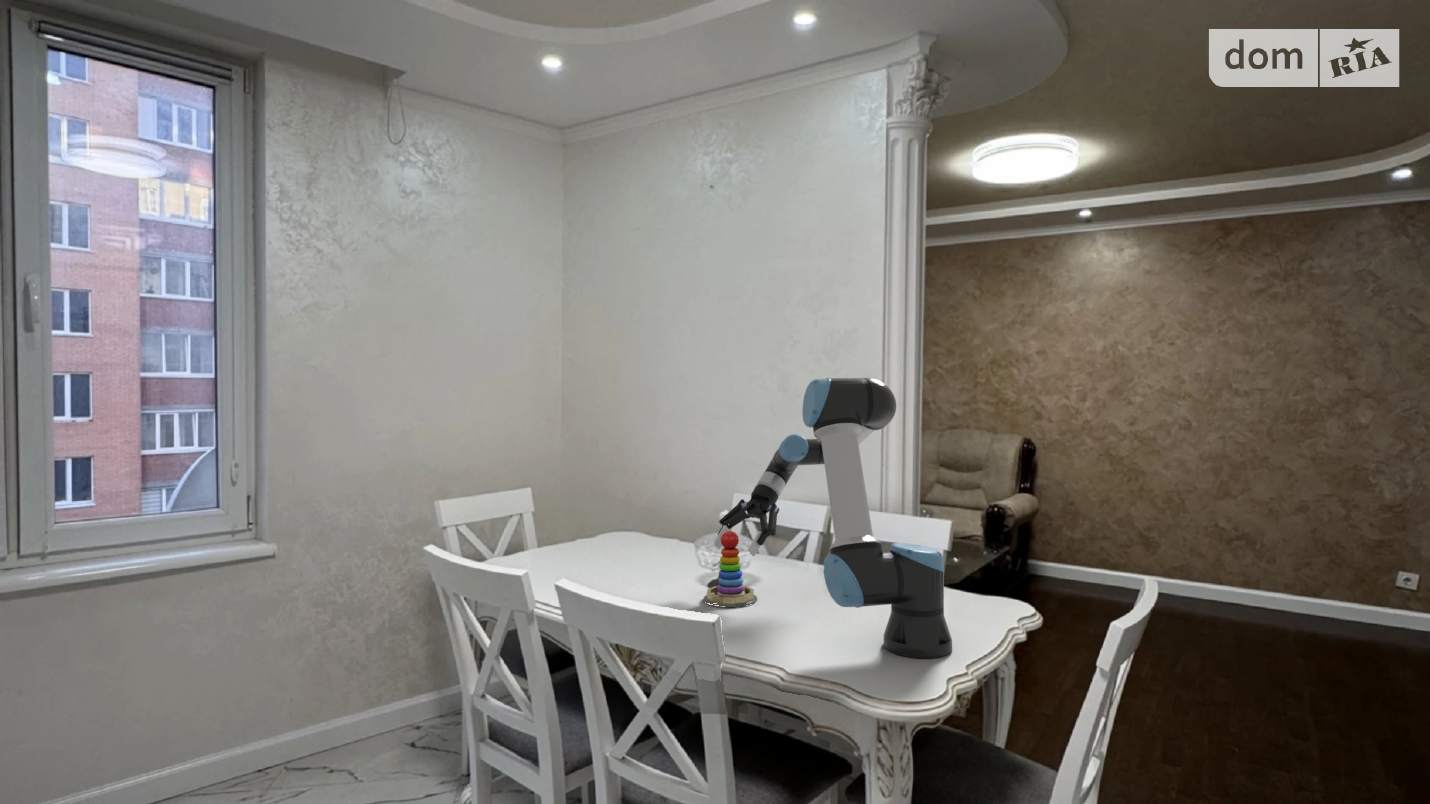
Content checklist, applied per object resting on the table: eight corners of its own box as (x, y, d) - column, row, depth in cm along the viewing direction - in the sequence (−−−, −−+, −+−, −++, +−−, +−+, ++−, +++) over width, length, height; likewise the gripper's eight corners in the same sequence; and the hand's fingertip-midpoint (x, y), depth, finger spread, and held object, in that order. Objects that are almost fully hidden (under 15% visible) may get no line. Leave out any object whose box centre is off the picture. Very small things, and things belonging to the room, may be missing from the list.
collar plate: (756, 608, 205) (756, 598, 205) (701, 607, 206) (701, 598, 206) (757, 593, 220) (757, 584, 220) (706, 592, 221) (706, 583, 221)
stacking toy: (750, 596, 214) (749, 530, 213) (735, 603, 207) (735, 535, 207) (726, 592, 218) (725, 527, 218) (711, 599, 211) (710, 532, 211)
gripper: (806, 502, 217) (773, 564, 207) (743, 495, 235) (709, 551, 225) (794, 486, 213) (759, 548, 203) (731, 479, 231) (696, 536, 221)
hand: (733, 549), depth 214 cm, fingers open, 13 cm apart
